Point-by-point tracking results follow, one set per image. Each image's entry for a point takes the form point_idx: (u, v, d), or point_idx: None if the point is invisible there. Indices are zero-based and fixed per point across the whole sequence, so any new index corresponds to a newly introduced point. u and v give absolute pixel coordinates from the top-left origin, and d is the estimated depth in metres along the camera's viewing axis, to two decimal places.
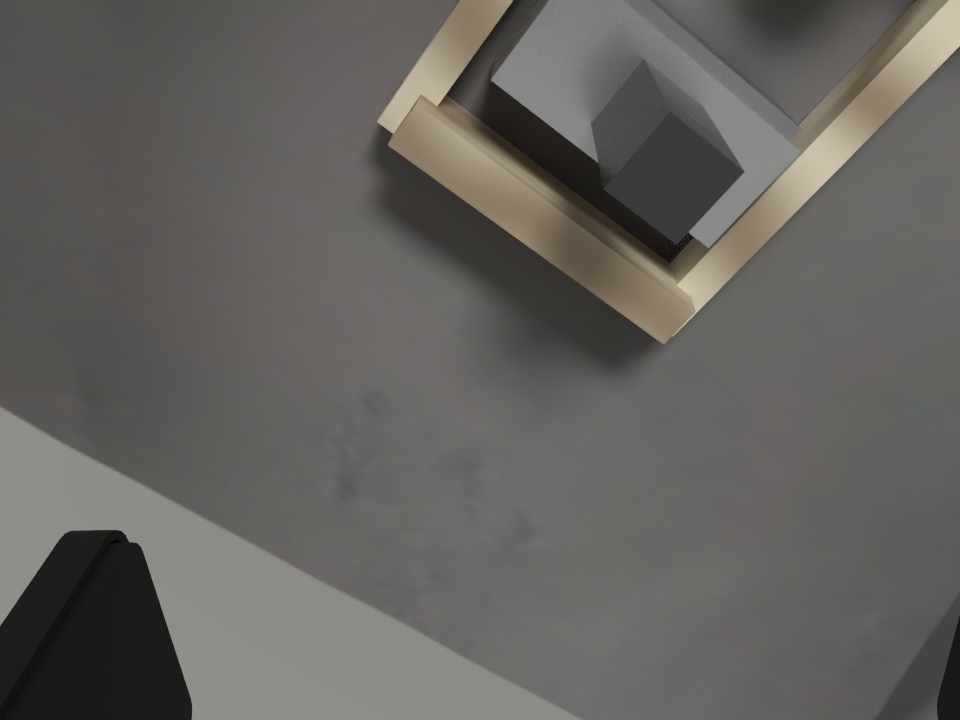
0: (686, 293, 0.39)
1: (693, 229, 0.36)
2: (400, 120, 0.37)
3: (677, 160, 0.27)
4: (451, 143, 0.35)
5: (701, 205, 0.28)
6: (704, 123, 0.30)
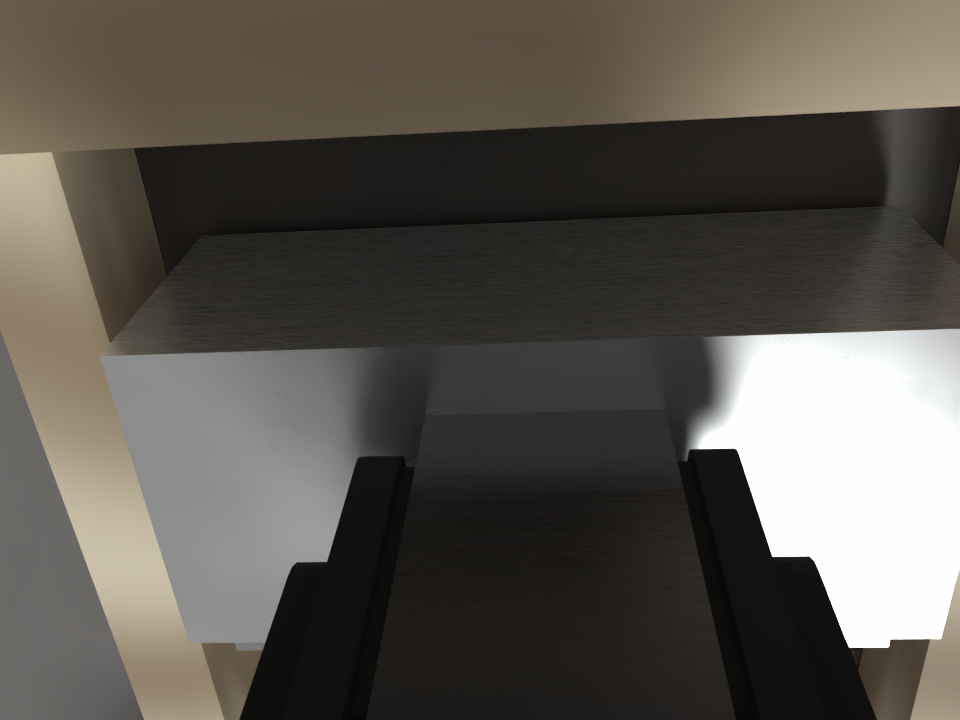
0: None
1: (183, 368, 0.11)
2: None
3: None
4: None
5: None
6: None
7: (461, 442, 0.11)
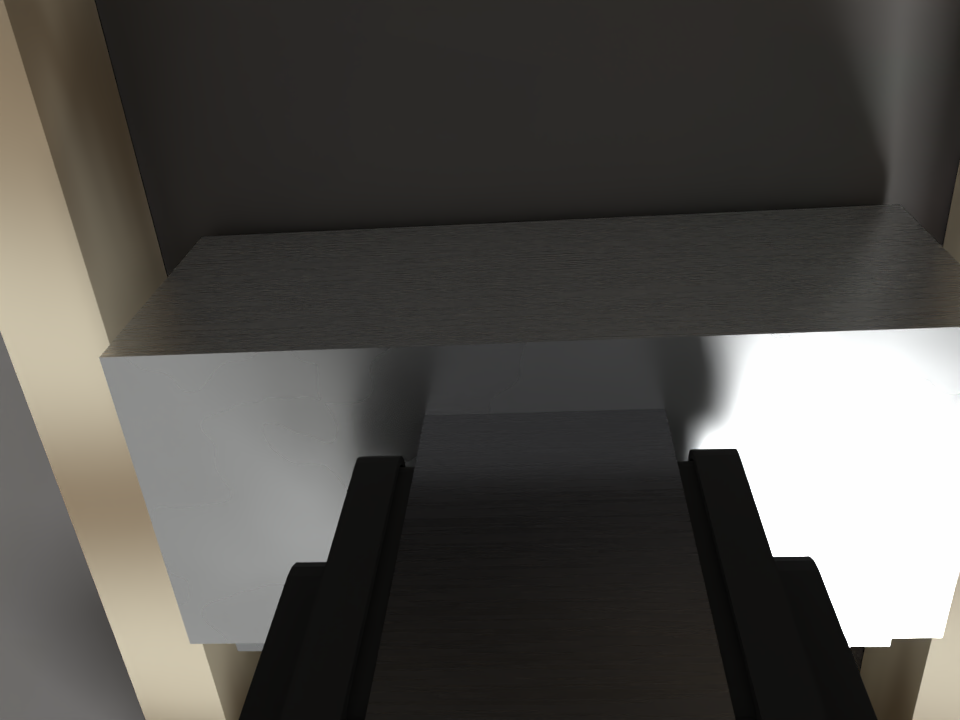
0: None
1: (183, 369, 0.11)
2: None
3: None
4: None
5: None
6: None
7: (460, 442, 0.11)
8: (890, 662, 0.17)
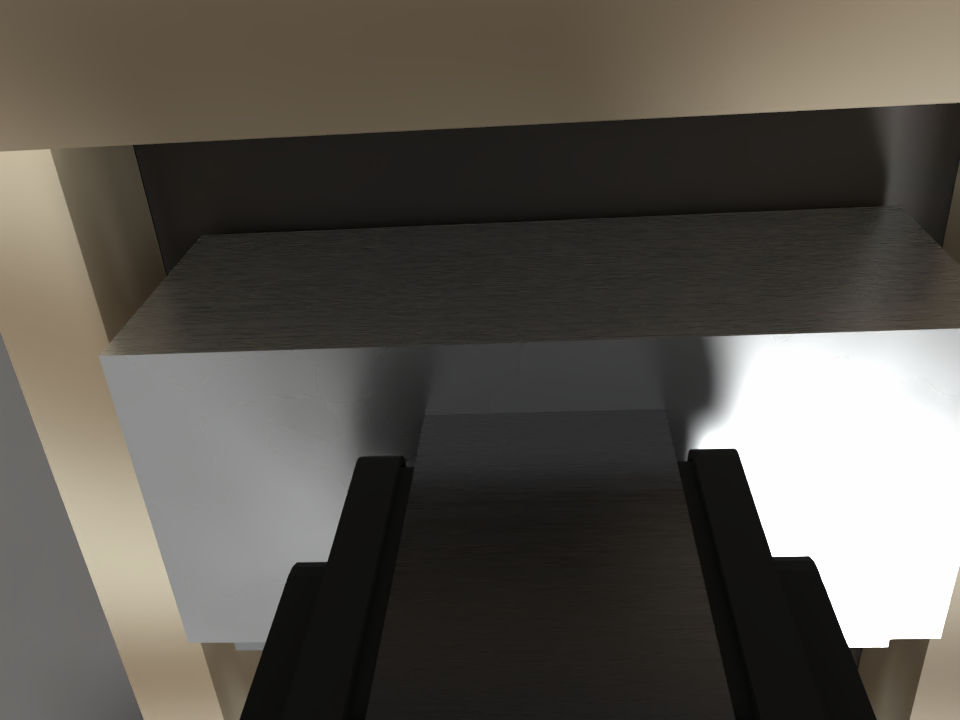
0: None
1: (182, 368, 0.11)
2: None
3: None
4: None
5: None
6: None
7: (460, 442, 0.11)
8: None
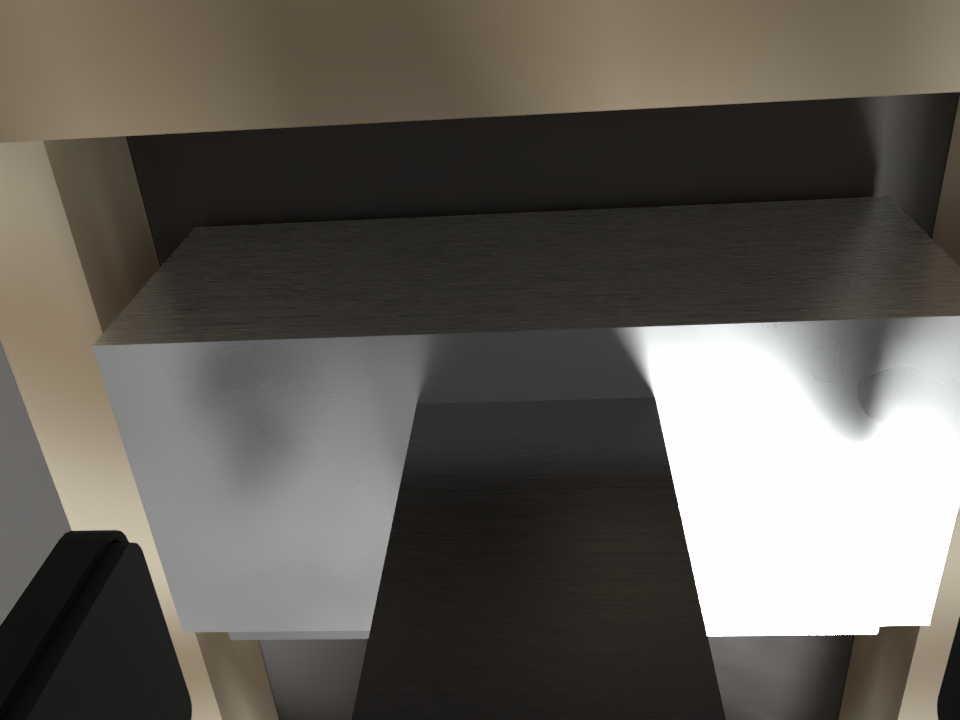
0: None
1: (176, 358, 0.11)
2: None
3: None
4: None
5: None
6: None
7: (452, 430, 0.11)
8: None
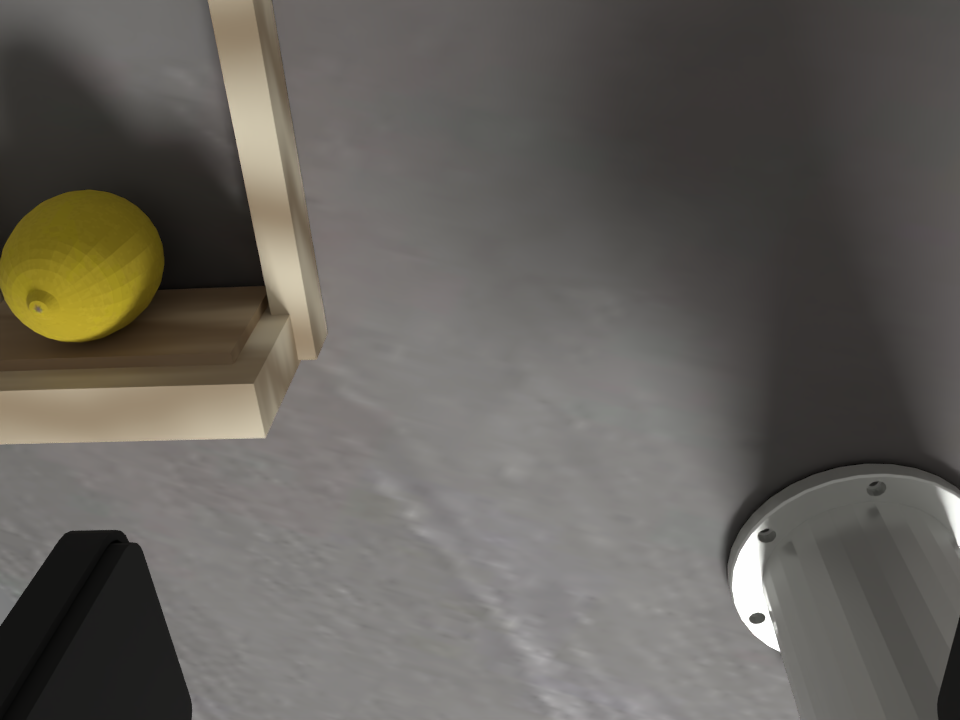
0: None
1: None
2: None
3: None
4: None
5: None
6: None
7: None
8: None
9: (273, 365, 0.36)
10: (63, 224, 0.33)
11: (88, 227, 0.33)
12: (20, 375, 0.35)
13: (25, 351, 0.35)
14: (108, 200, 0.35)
